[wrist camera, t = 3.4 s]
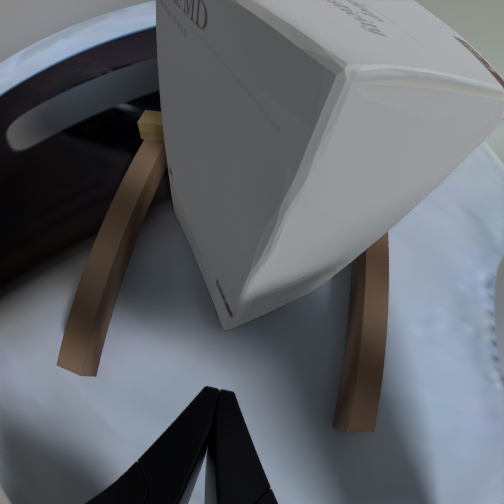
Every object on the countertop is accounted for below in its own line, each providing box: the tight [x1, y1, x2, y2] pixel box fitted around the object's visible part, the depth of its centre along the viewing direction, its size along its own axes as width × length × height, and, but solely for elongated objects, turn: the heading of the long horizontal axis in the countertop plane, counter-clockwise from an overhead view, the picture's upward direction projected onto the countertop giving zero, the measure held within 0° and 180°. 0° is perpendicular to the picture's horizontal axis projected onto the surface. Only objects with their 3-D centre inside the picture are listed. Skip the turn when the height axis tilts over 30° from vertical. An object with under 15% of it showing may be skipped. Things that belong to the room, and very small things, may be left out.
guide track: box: [57, 110, 389, 432], centre depth 15 cm, size 18×16×4 cm
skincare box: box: [156, 0, 504, 331], centre depth 10 cm, size 8×6×15 cm
